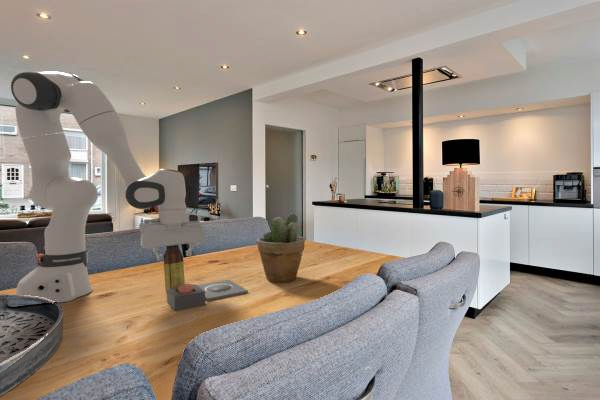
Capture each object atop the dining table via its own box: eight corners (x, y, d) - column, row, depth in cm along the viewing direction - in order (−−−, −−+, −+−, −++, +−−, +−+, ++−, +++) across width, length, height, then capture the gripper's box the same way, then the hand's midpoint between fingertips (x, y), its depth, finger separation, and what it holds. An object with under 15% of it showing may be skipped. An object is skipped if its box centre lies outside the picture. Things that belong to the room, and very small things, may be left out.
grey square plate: (207, 301, 106) (207, 298, 106) (191, 288, 119) (191, 285, 119) (247, 292, 114) (247, 290, 114) (229, 281, 127) (228, 279, 127)
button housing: (174, 310, 98) (174, 297, 98) (167, 301, 106) (166, 289, 105) (205, 304, 103) (205, 291, 103) (195, 296, 111) (195, 284, 110)
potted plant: (299, 287, 120) (299, 217, 119) (250, 284, 124) (249, 216, 123) (308, 273, 138) (308, 212, 137) (265, 271, 142) (264, 212, 141)
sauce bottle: (187, 289, 118) (186, 232, 117) (179, 295, 112) (178, 235, 111) (169, 289, 119) (168, 232, 118) (160, 294, 112) (159, 235, 111)
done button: (180, 299, 101) (180, 288, 101) (176, 295, 105) (176, 285, 105) (194, 296, 104) (194, 286, 104) (190, 293, 107) (190, 283, 107)
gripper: (140, 221, 105) (142, 264, 106) (205, 215, 116) (207, 255, 117) (137, 219, 110) (139, 260, 111) (199, 214, 121) (201, 252, 123)
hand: (174, 258), depth 114 cm, fingers open, 8 cm apart
